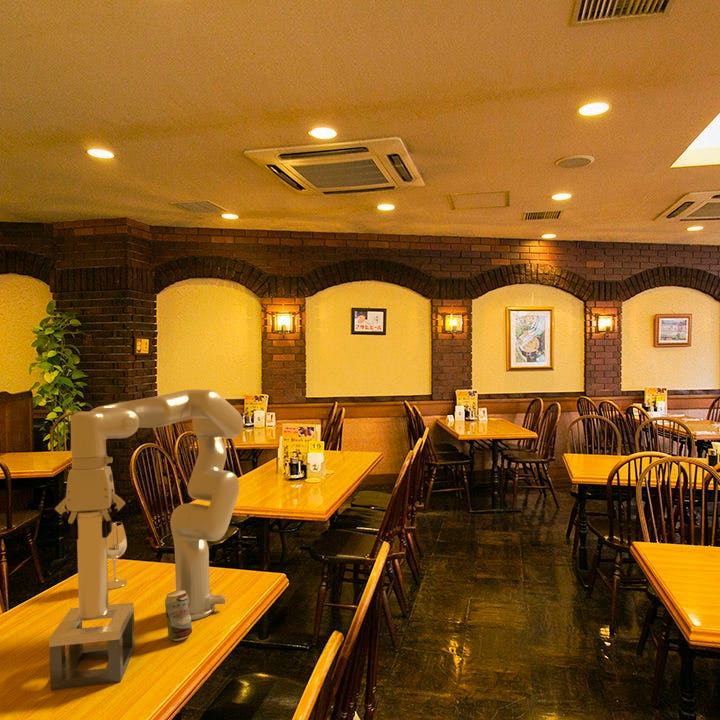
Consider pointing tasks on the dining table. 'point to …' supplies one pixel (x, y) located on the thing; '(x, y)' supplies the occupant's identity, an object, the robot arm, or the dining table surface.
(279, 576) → the dining table surface
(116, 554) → the wineglass
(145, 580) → the dining table surface
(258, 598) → the dining table surface
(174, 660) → the dining table surface
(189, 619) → the beverage can
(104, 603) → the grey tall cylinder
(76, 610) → the collar stand
